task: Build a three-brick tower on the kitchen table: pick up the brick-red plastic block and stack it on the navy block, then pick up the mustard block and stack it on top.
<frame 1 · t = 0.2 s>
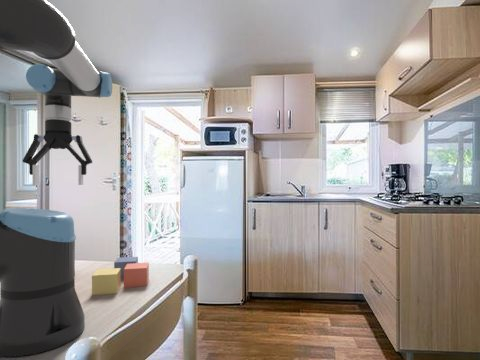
hand: (58, 185, 105), 28 cm above the table, tool pointing down, fingers open, 13 cm apart
mustard brick: (107, 290, 84), on the table
navy brick: (126, 275, 97), on the table
red brick: (136, 283, 90), on the table
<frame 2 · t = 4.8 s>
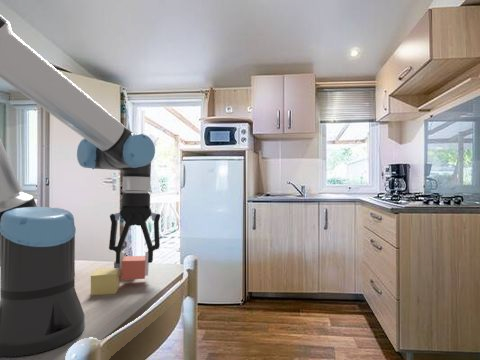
hand: (134, 274, 89), 3 cm above the table, tool pointing down, fingers closed on red brick, 6 cm apart
mustard brick: (105, 290, 84), on the table, touching gripper
red brick: (134, 276, 89), point 2 cm above the table, touching gripper
everything else where it was.
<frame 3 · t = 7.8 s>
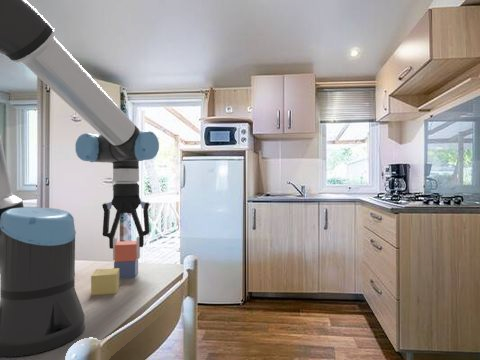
hand: (126, 258, 98), 5 cm above the table, tool pointing down, fingers closed on red brick, 6 cm apart
mustard brick: (105, 290, 84), on the table
navy brick: (126, 275, 97), on the table, touching gripper, red brick
red brick: (126, 259, 98), point 5 cm above the table, touching gripper, navy brick
everything else where it was.
when the fingers open (5 cm above the table, at t = 7.9 s): red brick stays where it is, resting on navy brick.
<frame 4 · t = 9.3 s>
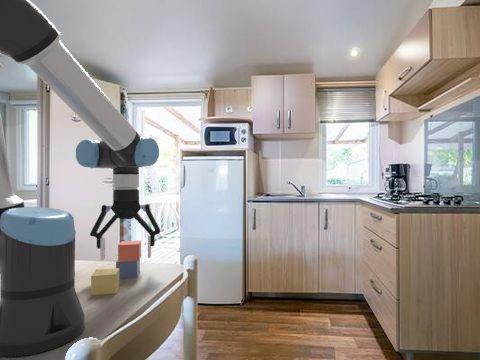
hand: (126, 258, 97), 5 cm above the table, tool pointing down, fingers open, 13 cm apart
navy brick: (128, 275, 97), on the table, touching red brick
red brick: (130, 259, 98), point 5 cm above the table, touching navy brick
everything else where it was.
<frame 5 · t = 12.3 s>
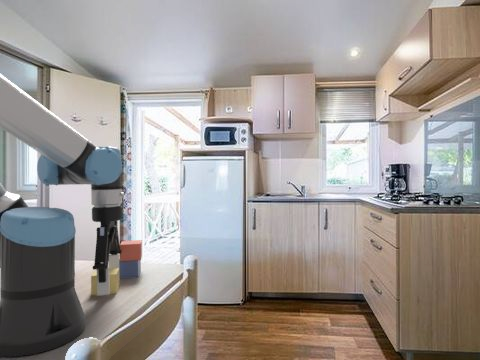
hand: (109, 285, 84), 1 cm above the table, tool pointing down, fingers open, 13 cm apart
nothing on the table moved.
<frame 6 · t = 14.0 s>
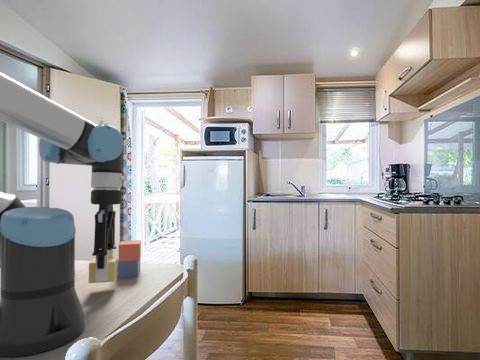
hand: (104, 277, 83), 4 cm above the table, tool pointing down, fingers closed on mustard brick, 6 cm apart
mustard brick: (103, 279, 83), point 3 cm above the table, touching gripper
everything else where it was.
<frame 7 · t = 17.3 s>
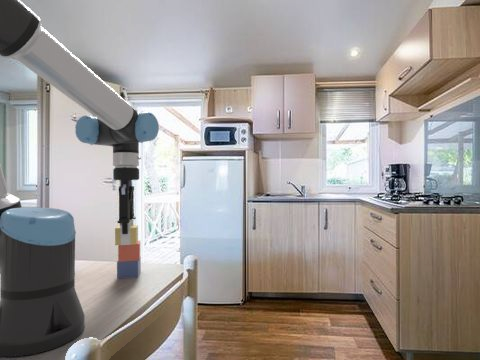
hand: (127, 242, 98), 10 cm above the table, tool pointing down, fingers closed on mustard brick, 6 cm apart
mustard brick: (127, 242, 98), point 10 cm above the table, touching gripper, red brick
red brick: (129, 258, 98), point 5 cm above the table, touching gripper, mustard brick, navy brick
everything else where it was.
when the fingers open (9 cm above the table, at t = 18.0 s): mustard brick stays where it is, resting on red brick.
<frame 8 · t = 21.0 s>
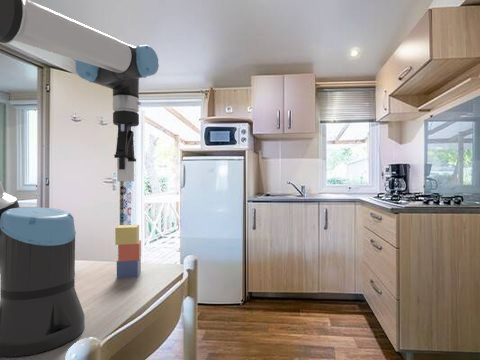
hand: (126, 181, 98), 29 cm above the table, tool pointing down, fingers open, 13 cm apart
mustard brick: (127, 242, 98), point 10 cm above the table, touching red brick
red brick: (130, 258, 98), point 5 cm above the table, touching mustard brick, navy brick
everything else where it was.
at the end: red brick 0.3 cm off-centre on the navy brick, point 5.0 cm above the navy brick's base; mustard brick 0.4 cm off-centre on the navy brick, point 10.0 cm above the navy brick's base; mustard brick tilted 0° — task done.
